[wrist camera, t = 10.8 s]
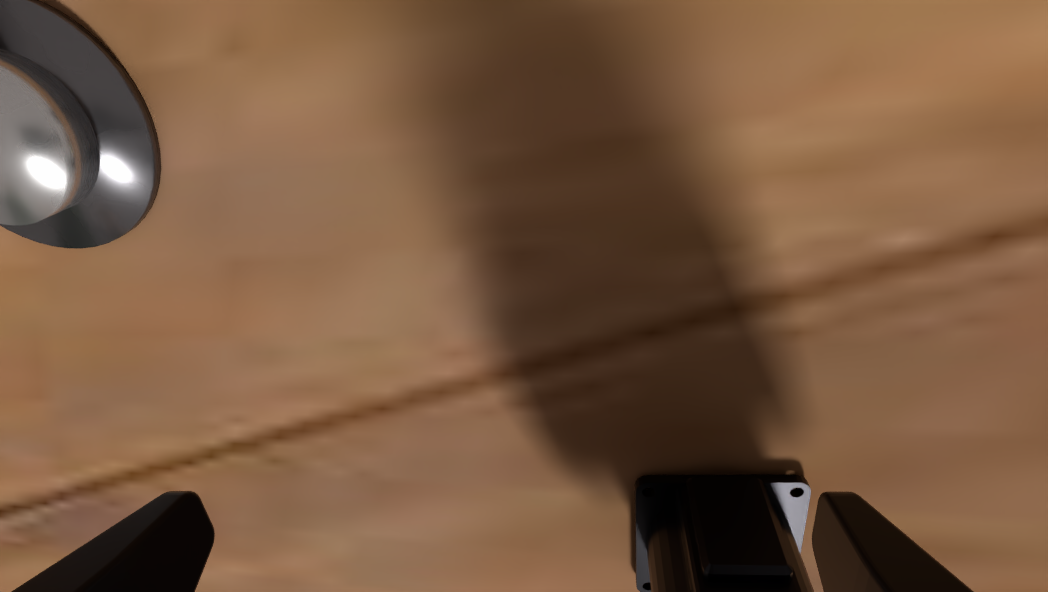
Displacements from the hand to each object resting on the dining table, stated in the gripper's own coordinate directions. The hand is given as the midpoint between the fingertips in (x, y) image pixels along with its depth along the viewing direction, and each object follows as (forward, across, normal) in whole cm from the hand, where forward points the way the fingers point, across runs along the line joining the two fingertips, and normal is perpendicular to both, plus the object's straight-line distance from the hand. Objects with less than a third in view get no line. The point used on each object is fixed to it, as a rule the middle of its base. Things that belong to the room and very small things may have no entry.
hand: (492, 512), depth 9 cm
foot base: (+12, +16, -4) cm, 20 cm away
